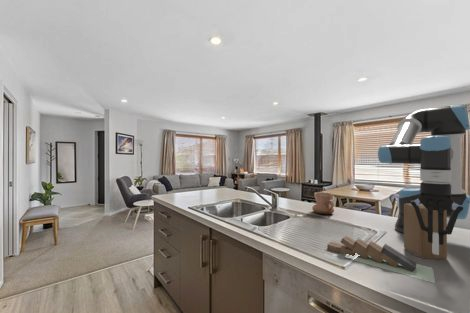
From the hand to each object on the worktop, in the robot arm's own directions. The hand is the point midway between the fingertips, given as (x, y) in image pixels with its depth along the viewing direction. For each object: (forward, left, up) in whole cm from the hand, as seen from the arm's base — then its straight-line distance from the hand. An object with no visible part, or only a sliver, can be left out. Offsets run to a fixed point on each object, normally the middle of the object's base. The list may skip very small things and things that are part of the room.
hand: (435, 253), depth 71 cm
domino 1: (0, -19, -6) cm, 20 cm away
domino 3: (0, -10, -6) cm, 12 cm away
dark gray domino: (0, -5, -6) cm, 8 cm away
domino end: (0, -24, -6) cm, 25 cm away
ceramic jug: (-60, -55, -8) cm, 82 cm away
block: (-20, -2, -8) cm, 21 cm away
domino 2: (0, -15, -6) cm, 16 cm away
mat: (0, -13, -8) cm, 15 cm away
